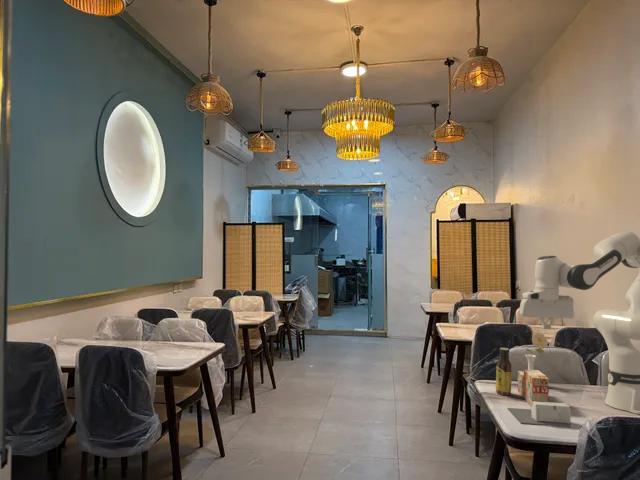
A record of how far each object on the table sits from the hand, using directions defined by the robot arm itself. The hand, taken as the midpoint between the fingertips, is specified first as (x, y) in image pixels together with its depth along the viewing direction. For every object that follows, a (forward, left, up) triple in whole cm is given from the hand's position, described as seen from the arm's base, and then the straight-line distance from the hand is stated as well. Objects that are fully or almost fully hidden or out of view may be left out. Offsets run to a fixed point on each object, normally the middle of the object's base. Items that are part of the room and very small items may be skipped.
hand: (546, 328), depth 173 cm
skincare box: (-1, +18, -28) cm, 33 cm away
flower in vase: (-5, -29, -31) cm, 43 cm away
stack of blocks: (+3, -6, -32) cm, 32 cm away
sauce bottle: (+13, -12, -31) cm, 36 cm away
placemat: (+9, +15, -31) cm, 36 cm away
